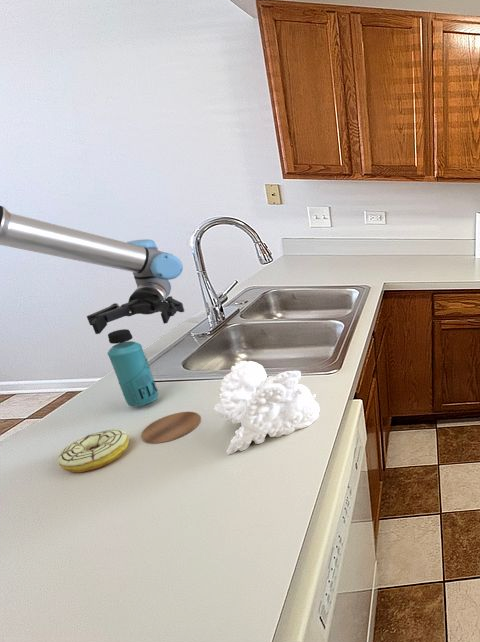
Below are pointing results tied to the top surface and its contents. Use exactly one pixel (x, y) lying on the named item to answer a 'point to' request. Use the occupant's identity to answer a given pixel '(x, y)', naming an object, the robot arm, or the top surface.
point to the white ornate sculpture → (264, 404)
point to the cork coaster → (171, 427)
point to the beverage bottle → (131, 369)
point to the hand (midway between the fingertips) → (130, 323)
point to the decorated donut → (93, 451)
